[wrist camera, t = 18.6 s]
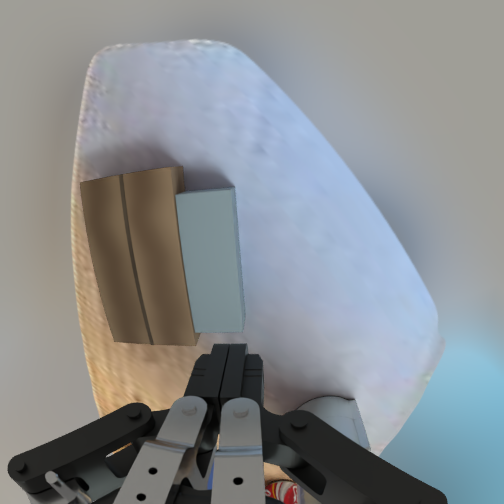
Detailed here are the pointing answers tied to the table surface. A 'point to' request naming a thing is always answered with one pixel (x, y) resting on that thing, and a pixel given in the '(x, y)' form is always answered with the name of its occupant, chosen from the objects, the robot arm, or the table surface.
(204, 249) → the slate plank
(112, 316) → the floorboards
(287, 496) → the soda can
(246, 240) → the table surface
